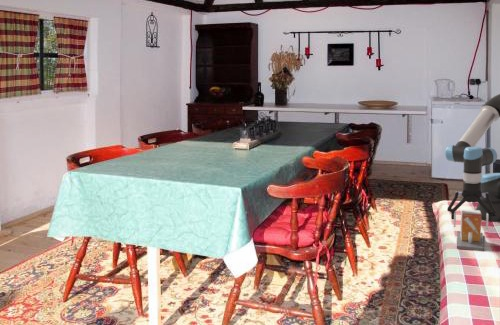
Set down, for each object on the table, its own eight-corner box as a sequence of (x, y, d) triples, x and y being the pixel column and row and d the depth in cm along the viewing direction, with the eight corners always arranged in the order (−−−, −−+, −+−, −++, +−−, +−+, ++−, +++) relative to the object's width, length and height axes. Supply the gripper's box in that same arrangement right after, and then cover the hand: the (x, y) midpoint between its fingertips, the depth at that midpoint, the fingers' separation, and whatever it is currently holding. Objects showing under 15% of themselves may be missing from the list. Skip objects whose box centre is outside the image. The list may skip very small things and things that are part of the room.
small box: (461, 240, 248) (462, 213, 246) (460, 236, 254) (461, 209, 252) (480, 241, 246) (481, 213, 244) (479, 237, 252) (480, 210, 250)
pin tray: (457, 233, 262) (457, 221, 261) (482, 235, 258) (482, 222, 257) (456, 248, 242) (457, 235, 241) (483, 250, 238) (484, 237, 237)
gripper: (502, 180, 244) (500, 226, 248) (442, 178, 253) (441, 223, 257) (503, 184, 237) (501, 231, 241) (442, 182, 246) (441, 227, 250)
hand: (470, 227), depth 249 cm, fingers open, 13 cm apart
